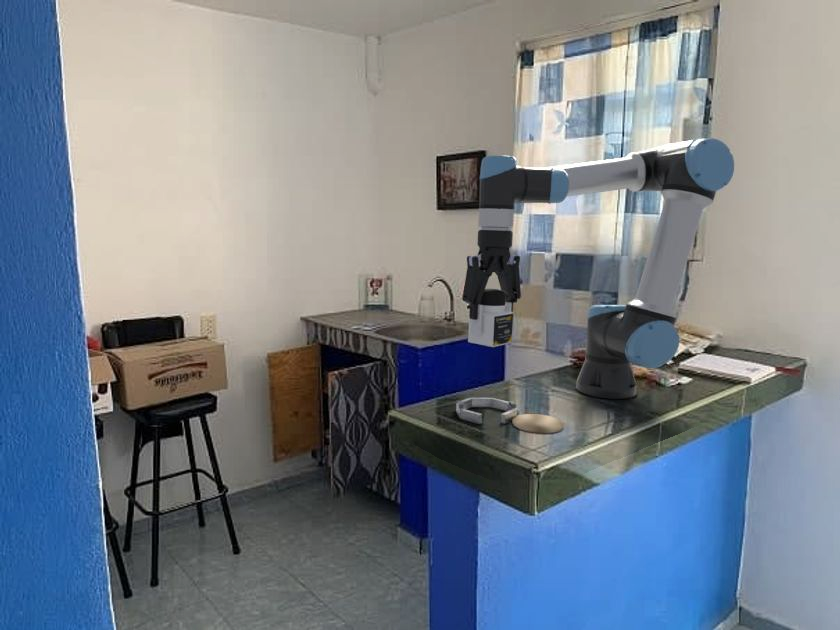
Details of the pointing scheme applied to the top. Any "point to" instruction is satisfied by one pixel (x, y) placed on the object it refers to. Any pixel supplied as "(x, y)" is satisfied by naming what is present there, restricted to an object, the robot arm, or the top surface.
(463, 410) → the collar
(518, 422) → the disc
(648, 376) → the top surface
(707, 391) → the top surface
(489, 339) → the medicine bottle
